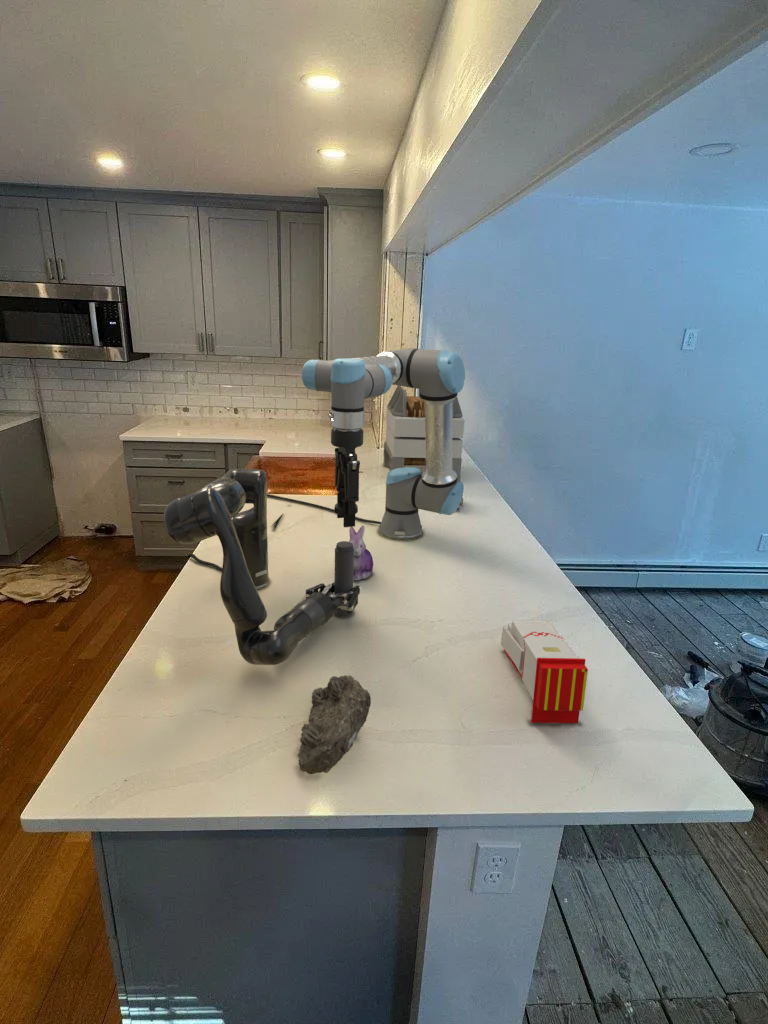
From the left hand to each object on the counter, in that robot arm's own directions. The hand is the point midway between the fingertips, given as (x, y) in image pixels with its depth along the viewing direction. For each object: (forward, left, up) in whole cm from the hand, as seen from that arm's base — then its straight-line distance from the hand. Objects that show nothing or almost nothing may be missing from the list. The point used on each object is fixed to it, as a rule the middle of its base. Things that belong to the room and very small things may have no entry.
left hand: (348, 586), depth 147 cm
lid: (0, -2, +23) cm, 23 cm away
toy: (+51, -5, -6) cm, 51 cm away
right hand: (0, -2, +19) cm, 19 cm away
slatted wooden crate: (-40, +130, -6) cm, 136 cm away
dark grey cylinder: (0, -3, -6) cm, 7 cm away
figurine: (-8, +18, -6) cm, 21 cm away
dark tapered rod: (-56, +43, -6) cm, 71 cm away
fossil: (+23, -41, -6) cm, 48 cm away
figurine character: (-8, +94, -6) cm, 94 cm away
